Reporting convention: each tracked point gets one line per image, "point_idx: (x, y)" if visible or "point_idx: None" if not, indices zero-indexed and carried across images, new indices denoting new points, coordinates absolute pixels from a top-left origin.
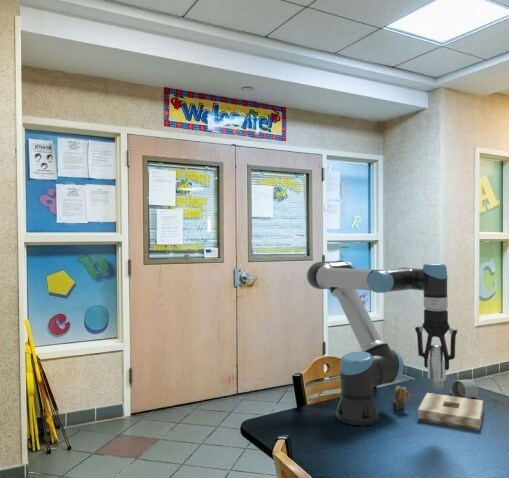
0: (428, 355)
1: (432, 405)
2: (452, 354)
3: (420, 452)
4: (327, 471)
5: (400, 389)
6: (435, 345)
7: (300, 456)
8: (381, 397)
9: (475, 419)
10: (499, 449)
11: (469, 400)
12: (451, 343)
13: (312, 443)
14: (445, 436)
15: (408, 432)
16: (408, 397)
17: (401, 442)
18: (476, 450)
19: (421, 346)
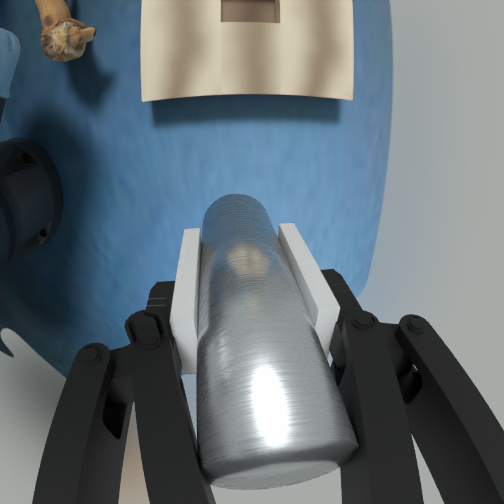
0: (173, 356)
1: (184, 33)
2: (407, 391)
3: None
4: None
5: (49, 53)
6: (269, 470)
7: (66, 374)
8: (21, 4)
9: (340, 98)
10: (374, 198)
11: None
12: (439, 474)
13: (45, 340)
14: (250, 180)
15: (151, 206)
16: (89, 41)
17: (158, 270)
18: (327, 227)
19: (120, 469)
